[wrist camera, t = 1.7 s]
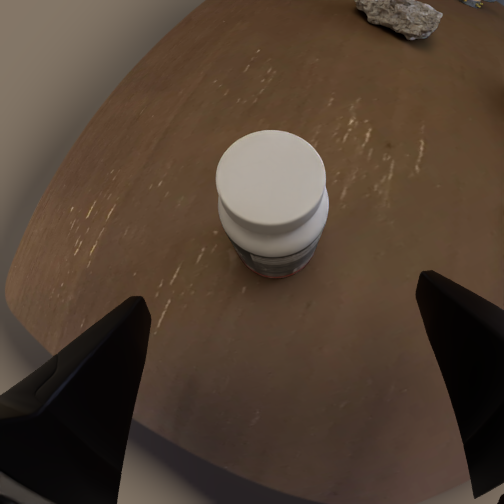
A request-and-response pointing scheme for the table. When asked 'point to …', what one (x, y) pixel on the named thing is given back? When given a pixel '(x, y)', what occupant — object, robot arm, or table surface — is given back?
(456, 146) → the table surface
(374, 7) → the mineral specimen
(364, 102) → the table surface
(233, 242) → the pill bottle
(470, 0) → the mug
